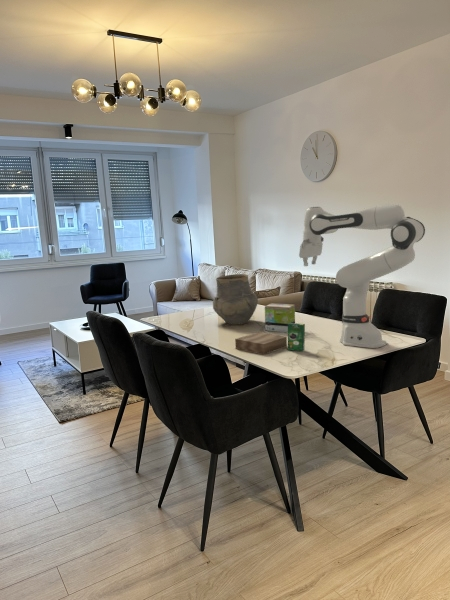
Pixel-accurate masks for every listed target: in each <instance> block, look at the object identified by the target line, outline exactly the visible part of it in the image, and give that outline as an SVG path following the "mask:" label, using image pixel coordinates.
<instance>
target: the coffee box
mask: <svg viewBox="0 0 450 600" xmlns="http://www.w3.org/2000/svg"><path fill="white" fill-rule="evenodd" d="M305 327H306V325H305V323H296V322H295V323H288V332H287V351H294V352H304V351H305V348H306V347H305V346H306V345H305V342H306V341H305V340H306V339H305V337H306V336H305V335H306V331H305Z"/></svg>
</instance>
